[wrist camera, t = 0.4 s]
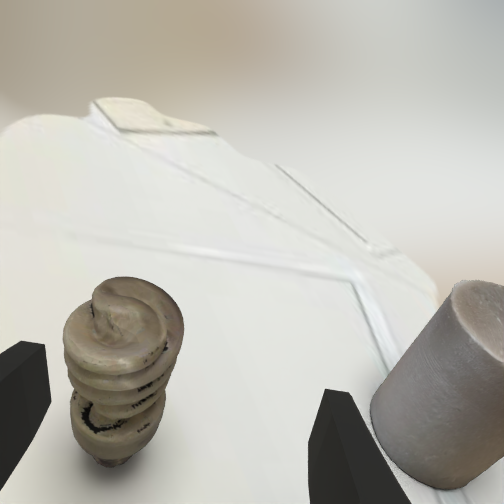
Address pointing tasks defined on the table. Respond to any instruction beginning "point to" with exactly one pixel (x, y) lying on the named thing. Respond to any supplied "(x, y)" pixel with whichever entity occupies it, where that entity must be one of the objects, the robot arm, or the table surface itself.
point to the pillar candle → (448, 392)
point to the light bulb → (120, 366)
